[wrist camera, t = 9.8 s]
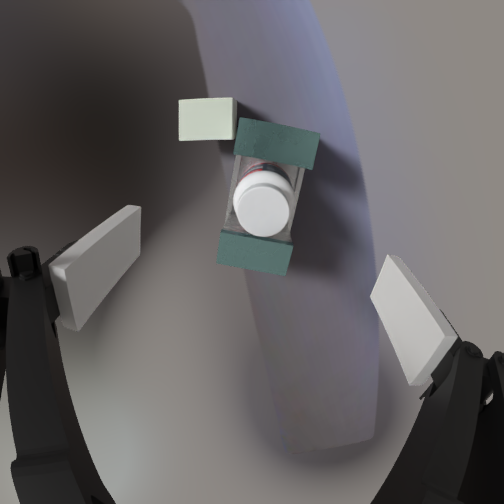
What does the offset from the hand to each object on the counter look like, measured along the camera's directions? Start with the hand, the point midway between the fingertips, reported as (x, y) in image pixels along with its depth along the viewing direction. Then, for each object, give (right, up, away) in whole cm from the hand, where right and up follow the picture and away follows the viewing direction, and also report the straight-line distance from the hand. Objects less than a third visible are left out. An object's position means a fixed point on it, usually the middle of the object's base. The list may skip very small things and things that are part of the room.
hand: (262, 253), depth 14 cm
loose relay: (-5, +14, +13) cm, 20 cm away
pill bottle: (+1, +7, +15) cm, 17 cm away
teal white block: (+1, +7, +16) cm, 17 cm away
